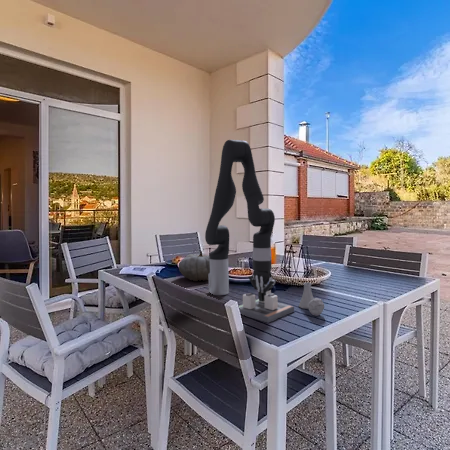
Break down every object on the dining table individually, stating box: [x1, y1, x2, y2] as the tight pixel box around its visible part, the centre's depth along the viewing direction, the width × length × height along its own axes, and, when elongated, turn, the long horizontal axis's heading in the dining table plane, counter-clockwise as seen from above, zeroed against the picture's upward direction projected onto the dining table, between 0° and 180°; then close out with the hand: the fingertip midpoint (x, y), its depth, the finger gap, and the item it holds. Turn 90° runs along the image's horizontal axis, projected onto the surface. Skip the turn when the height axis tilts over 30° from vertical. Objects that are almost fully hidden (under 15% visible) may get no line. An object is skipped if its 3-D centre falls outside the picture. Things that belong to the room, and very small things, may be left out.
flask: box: [298, 282, 314, 310], centre depth 135 cm, size 7×7×10 cm
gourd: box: [178, 250, 210, 282], centre depth 189 cm, size 25×25×17 cm
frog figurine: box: [308, 297, 325, 317], centre depth 124 cm, size 6×7×7 cm
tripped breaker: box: [264, 292, 279, 310], centre depth 127 cm, size 4×3×6 cm
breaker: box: [242, 292, 257, 309], centre depth 129 cm, size 4×3×6 cm
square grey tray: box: [238, 298, 295, 323], centre depth 130 cm, size 17×17×2 cm
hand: (262, 300), depth 130 cm, fingers closed
